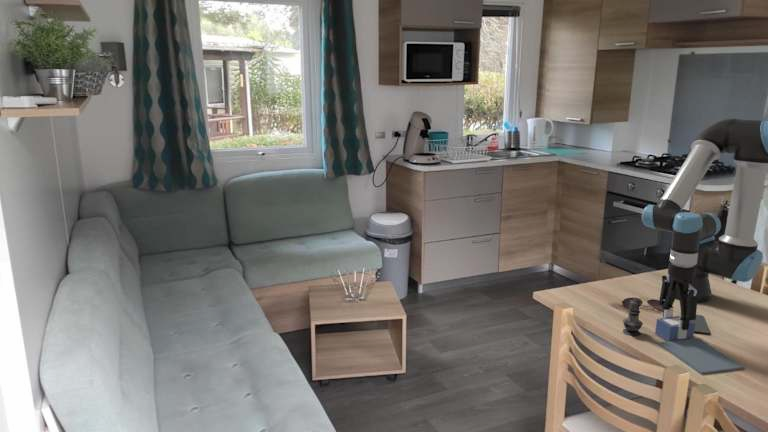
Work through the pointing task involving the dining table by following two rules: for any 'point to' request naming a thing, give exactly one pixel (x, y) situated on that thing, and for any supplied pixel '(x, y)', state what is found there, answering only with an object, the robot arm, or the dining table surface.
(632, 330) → the salt shaker
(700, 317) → the smartphone
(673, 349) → the mat
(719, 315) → the dining table surface
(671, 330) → the card deck
